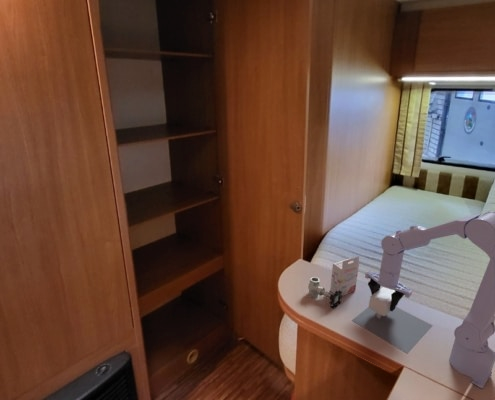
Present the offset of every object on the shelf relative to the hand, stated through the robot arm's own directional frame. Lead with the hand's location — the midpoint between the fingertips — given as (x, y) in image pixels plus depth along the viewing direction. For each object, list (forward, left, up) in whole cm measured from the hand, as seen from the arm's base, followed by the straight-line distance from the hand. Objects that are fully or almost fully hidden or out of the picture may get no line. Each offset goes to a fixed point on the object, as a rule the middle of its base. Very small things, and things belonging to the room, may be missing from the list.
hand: (383, 305), depth 107 cm
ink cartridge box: (+17, -3, -5) cm, 18 cm away
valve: (+18, +7, -5) cm, 21 cm away
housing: (0, 0, 0) cm, 0 cm away
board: (-4, +1, -5) cm, 6 cm away
